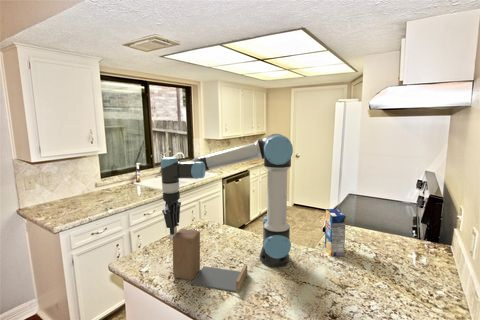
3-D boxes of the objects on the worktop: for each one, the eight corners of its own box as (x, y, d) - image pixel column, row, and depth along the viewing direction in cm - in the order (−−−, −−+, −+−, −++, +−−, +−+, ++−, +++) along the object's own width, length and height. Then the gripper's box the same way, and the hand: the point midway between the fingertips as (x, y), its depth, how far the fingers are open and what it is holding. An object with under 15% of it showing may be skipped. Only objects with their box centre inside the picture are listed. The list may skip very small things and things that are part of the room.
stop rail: (247, 273, 123) (247, 263, 122) (239, 292, 110) (238, 281, 109) (244, 273, 123) (244, 263, 122) (236, 292, 110) (236, 281, 109)
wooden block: (193, 281, 118) (192, 239, 115) (172, 278, 120) (171, 237, 117) (200, 268, 128) (200, 230, 124) (181, 266, 130) (180, 227, 126)
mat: (245, 273, 123) (245, 272, 123) (236, 292, 110) (236, 290, 110) (203, 267, 129) (203, 266, 129) (190, 284, 116) (190, 283, 116)
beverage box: (330, 256, 137) (332, 216, 134) (324, 246, 148) (325, 209, 145) (344, 256, 137) (345, 216, 133) (336, 246, 148) (338, 208, 144)
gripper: (171, 187, 127) (174, 233, 130) (155, 194, 114) (159, 245, 118) (185, 187, 125) (187, 234, 128) (170, 195, 112) (173, 247, 116)
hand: (173, 239), depth 123 cm, fingers closed
